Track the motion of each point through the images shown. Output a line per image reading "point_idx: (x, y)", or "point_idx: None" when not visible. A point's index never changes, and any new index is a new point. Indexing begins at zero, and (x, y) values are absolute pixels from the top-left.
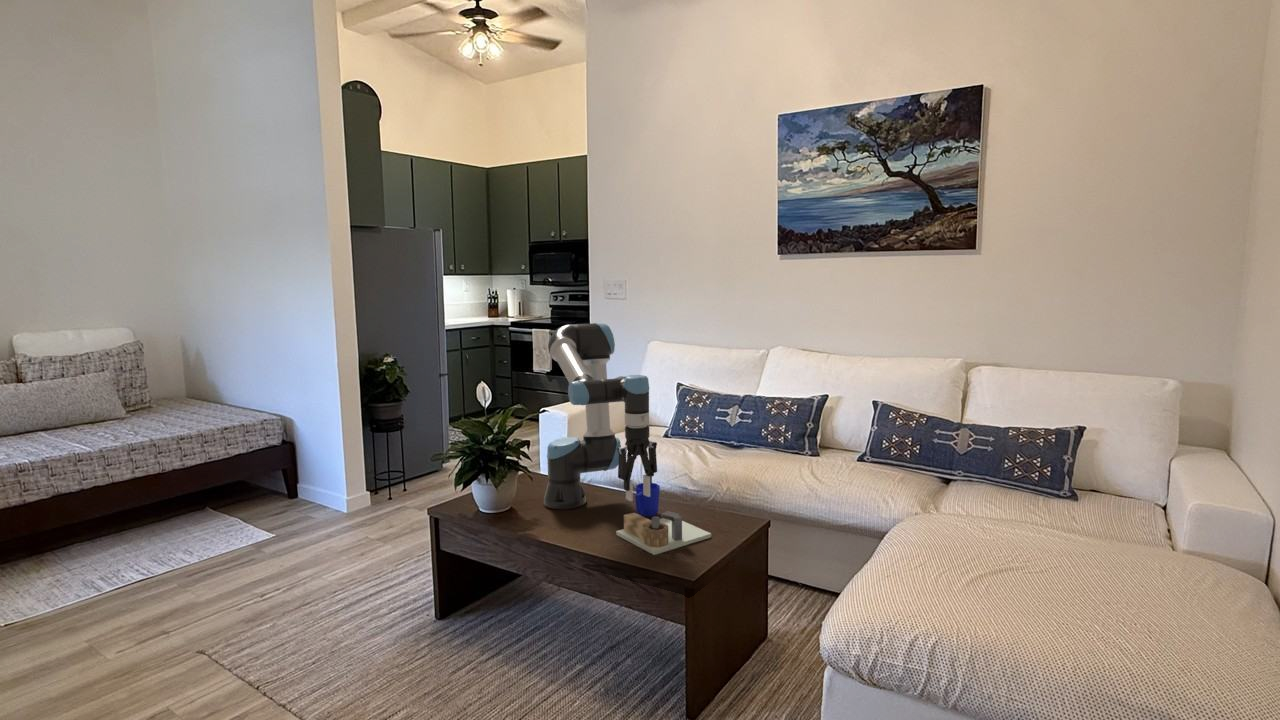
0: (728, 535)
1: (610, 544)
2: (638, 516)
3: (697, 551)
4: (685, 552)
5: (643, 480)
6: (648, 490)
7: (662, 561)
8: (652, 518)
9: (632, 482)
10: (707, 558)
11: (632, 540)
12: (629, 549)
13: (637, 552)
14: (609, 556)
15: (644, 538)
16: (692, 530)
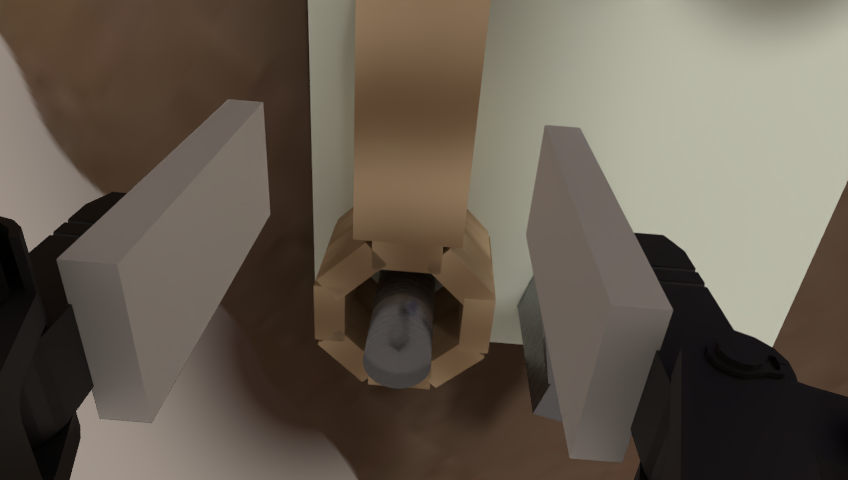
0: (840, 388)
1: (172, 6)
2: (451, 47)
3: (532, 411)
4: (477, 385)
5: (582, 244)
6: (536, 287)
7: (308, 383)
8: (364, 358)
9: (166, 392)
10: (501, 476)
11: (311, 114)
12: None
13: (263, 230)
14: (81, 165)
15: (331, 238)
16: (741, 265)
